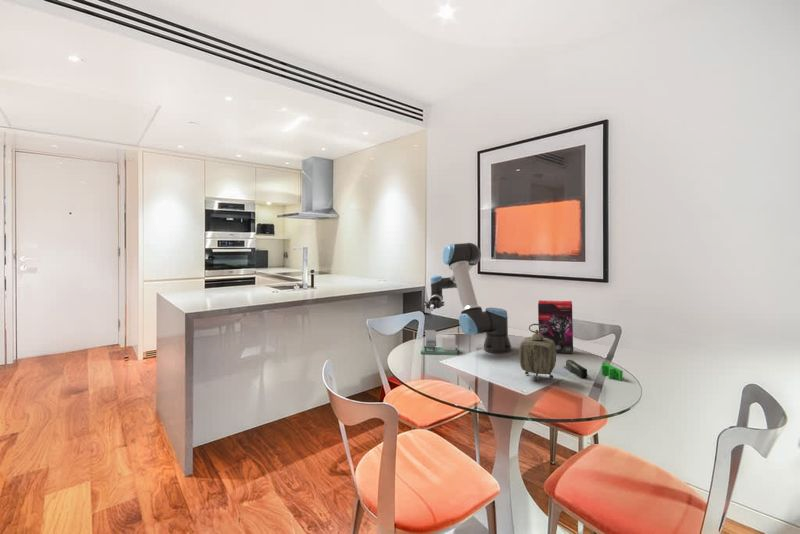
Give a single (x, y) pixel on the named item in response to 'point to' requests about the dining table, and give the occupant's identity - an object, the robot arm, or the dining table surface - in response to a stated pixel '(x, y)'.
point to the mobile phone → (576, 369)
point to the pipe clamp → (611, 371)
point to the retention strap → (430, 337)
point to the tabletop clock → (537, 354)
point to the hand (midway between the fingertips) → (431, 308)
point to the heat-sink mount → (447, 348)
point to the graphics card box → (557, 323)
